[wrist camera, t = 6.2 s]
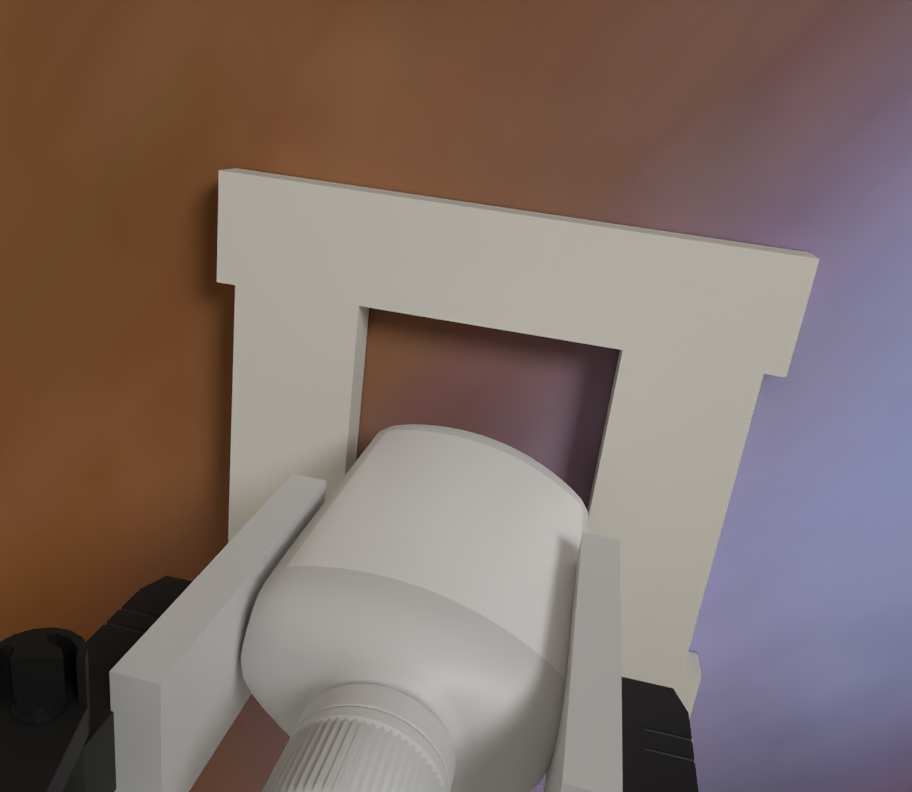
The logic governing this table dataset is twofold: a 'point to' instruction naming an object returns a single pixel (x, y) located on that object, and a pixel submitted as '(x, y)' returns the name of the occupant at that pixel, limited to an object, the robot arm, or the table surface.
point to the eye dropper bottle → (421, 621)
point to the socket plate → (524, 311)
